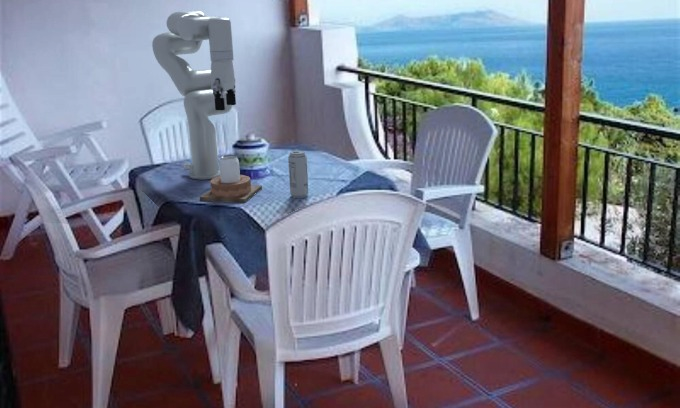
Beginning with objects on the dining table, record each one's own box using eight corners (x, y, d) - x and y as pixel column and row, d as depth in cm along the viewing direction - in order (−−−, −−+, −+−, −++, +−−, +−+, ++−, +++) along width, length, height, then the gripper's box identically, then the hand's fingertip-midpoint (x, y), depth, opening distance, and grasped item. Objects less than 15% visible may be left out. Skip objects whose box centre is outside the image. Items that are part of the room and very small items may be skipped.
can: (222, 189, 251) (219, 154, 247) (241, 188, 251) (239, 154, 247) (220, 194, 245) (217, 159, 241) (240, 193, 245) (237, 158, 241)
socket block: (199, 200, 243) (198, 185, 241) (219, 187, 258) (217, 172, 256) (245, 202, 239) (244, 187, 237) (261, 188, 254) (261, 174, 252)
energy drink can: (309, 197, 242) (307, 153, 237) (291, 199, 241) (289, 154, 236) (306, 192, 247) (304, 149, 243) (289, 194, 246) (286, 150, 242)
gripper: (221, 53, 252) (225, 102, 257) (200, 59, 236) (205, 111, 241) (242, 53, 250) (245, 103, 255) (222, 59, 234) (226, 112, 239)
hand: (225, 107), depth 248 cm, fingers open, 9 cm apart
